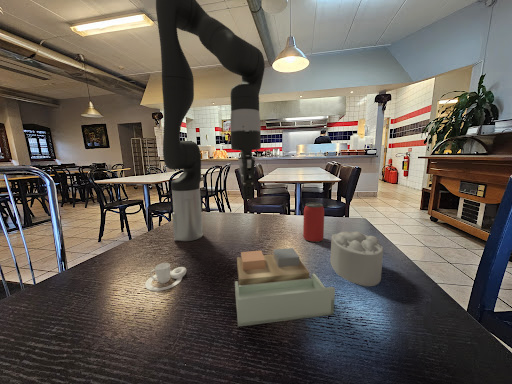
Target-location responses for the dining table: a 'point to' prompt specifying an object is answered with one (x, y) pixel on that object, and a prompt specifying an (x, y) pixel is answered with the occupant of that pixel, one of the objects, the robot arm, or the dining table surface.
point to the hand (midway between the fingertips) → (247, 197)
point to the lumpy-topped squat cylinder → (357, 257)
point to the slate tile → (285, 257)
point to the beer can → (313, 222)
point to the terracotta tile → (252, 260)
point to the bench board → (270, 272)
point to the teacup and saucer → (165, 276)
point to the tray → (283, 301)
